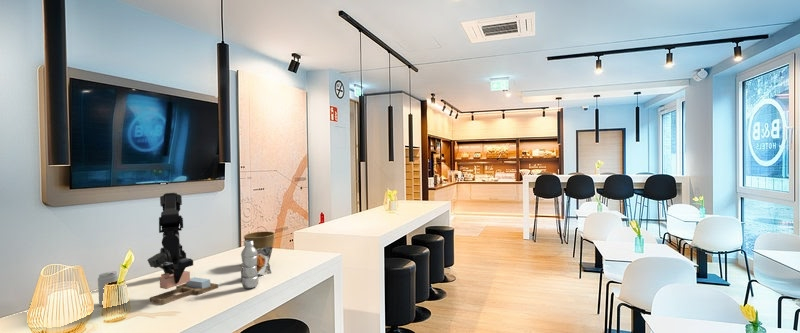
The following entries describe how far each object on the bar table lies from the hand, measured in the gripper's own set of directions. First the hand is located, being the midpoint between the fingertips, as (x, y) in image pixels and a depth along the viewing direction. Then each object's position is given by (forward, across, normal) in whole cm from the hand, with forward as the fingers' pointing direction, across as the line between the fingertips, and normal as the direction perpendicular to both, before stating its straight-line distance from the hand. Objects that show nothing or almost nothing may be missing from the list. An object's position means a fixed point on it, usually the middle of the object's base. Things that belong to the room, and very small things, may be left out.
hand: (173, 282), depth 152 cm
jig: (+6, 0, +4) cm, 7 cm away
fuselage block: (+1, 0, +1) cm, 1 cm away
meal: (+6, +13, +31) cm, 34 cm away
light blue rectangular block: (+6, 0, +10) cm, 12 cm away
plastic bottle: (+6, +21, +20) cm, 30 cm away
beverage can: (+6, -17, -15) cm, 23 cm away
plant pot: (+6, -3, +47) cm, 47 cm away
